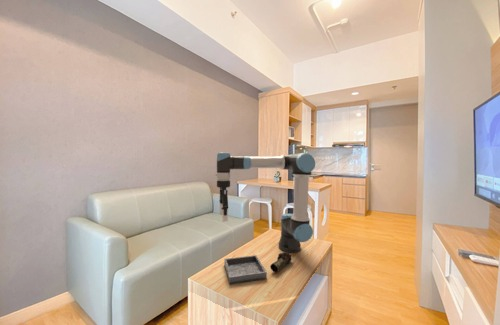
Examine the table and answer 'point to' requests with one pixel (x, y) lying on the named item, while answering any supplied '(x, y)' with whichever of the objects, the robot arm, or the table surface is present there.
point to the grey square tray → (244, 269)
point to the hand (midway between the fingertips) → (223, 217)
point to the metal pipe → (280, 262)
